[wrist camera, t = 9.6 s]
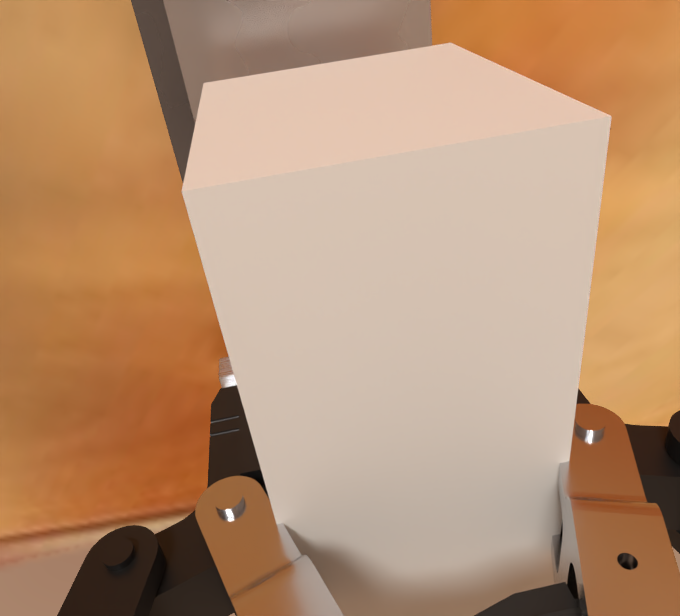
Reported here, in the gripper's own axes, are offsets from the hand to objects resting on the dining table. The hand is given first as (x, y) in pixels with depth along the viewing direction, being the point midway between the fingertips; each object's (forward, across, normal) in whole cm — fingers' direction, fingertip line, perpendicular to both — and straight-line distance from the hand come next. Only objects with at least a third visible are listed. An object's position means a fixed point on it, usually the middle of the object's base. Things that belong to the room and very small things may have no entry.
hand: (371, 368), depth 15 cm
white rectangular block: (+1, 0, 0) cm, 1 cm away
